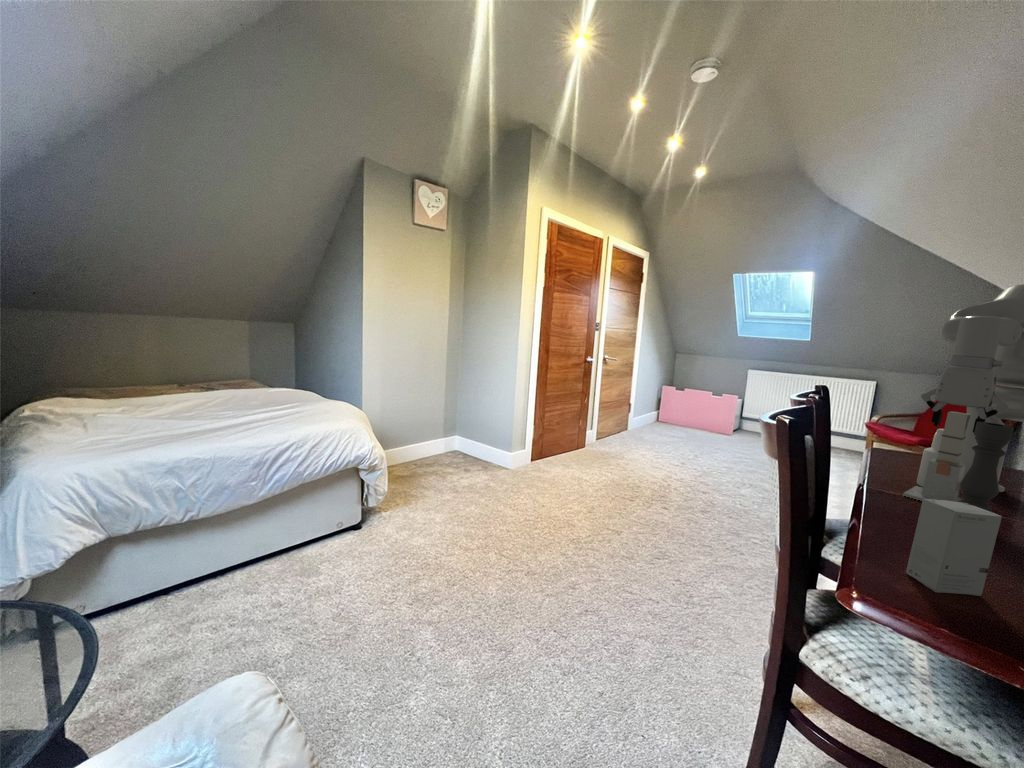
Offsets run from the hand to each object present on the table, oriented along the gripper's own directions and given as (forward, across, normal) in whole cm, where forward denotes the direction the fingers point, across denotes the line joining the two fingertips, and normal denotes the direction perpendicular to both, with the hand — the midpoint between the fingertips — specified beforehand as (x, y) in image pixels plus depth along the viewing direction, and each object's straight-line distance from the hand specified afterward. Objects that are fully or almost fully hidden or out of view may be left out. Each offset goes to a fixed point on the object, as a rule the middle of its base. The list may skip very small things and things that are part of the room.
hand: (955, 428), depth 110 cm
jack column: (+13, 0, 0) cm, 13 cm away
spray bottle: (+21, +4, -14) cm, 25 cm away
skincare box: (+21, -11, +57) cm, 62 cm away
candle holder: (+21, -8, +14) cm, 26 cm away
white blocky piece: (+21, 0, 0) cm, 21 cm away
